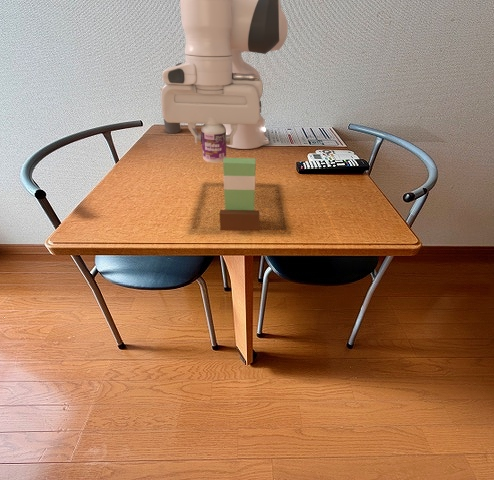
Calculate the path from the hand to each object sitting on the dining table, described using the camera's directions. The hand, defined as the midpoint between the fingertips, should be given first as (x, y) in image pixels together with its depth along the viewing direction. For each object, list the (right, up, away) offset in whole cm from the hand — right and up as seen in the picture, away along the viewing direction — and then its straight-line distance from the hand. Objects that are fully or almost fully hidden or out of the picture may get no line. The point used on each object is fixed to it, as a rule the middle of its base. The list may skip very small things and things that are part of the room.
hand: (214, 143), depth 64 cm
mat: (+6, -13, +5) cm, 15 cm away
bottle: (-23, +22, +50) cm, 59 cm away
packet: (+6, -18, -2) cm, 19 cm away
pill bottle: (0, -3, +2) cm, 4 cm away
